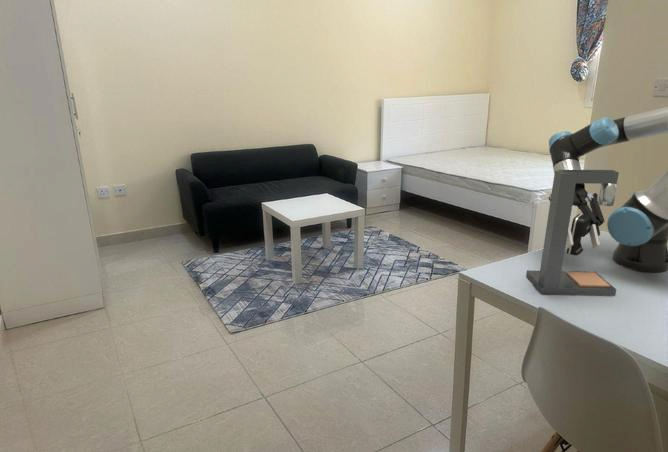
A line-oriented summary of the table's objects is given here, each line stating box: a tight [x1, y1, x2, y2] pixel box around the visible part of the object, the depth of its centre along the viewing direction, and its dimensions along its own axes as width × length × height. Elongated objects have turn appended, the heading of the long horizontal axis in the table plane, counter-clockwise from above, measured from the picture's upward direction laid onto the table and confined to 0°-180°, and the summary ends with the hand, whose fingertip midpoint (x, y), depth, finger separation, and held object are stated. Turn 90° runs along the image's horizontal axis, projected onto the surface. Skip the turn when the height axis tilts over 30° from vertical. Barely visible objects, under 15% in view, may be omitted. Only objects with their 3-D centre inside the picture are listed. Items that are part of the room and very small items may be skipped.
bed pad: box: [567, 271, 610, 287], centre depth 131 cm, size 8×9×1 cm
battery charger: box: [566, 213, 591, 256], centre depth 134 cm, size 7×4×11 cm, turn 137°
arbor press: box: [525, 169, 620, 297], centre depth 127 cm, size 20×12×34 cm, turn 87°
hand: (583, 246), depth 131 cm, fingers closed on battery charger, 6 cm apart
